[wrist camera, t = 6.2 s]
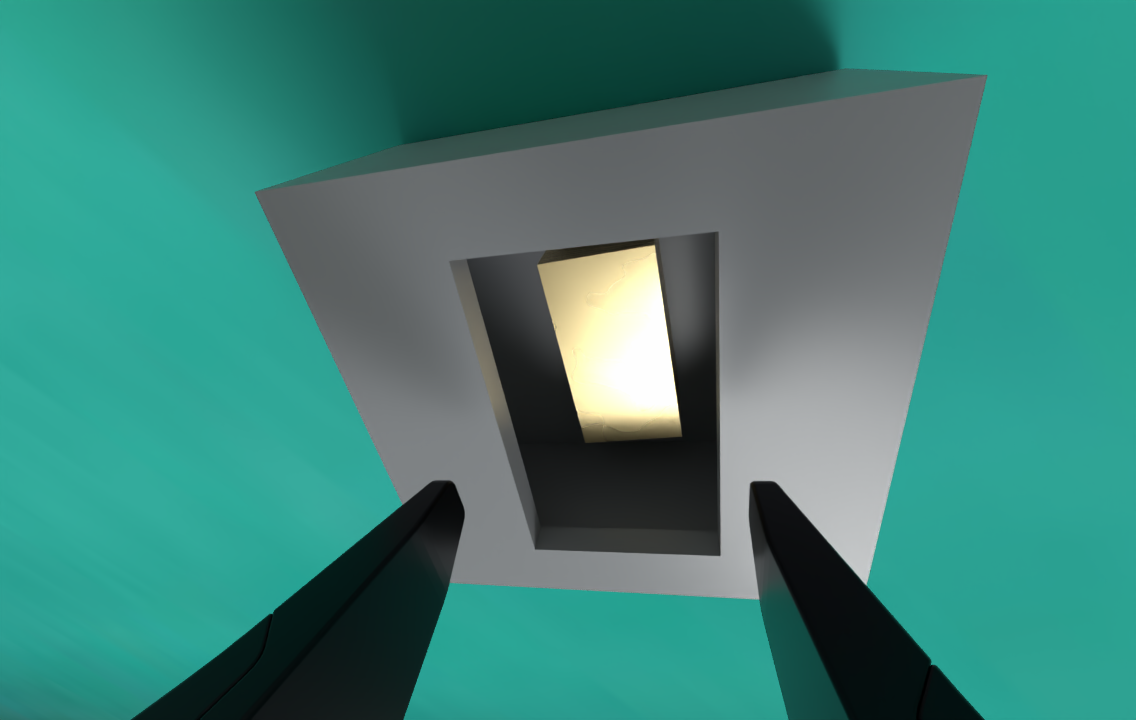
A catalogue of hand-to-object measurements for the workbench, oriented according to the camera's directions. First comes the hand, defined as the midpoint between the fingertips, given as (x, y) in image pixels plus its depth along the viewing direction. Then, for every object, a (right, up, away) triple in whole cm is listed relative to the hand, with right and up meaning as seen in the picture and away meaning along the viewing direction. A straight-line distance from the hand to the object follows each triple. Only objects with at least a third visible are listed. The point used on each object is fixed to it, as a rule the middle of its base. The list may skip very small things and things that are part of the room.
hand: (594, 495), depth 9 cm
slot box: (+1, +4, +7) cm, 8 cm away
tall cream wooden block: (+1, +4, +6) cm, 8 cm away
